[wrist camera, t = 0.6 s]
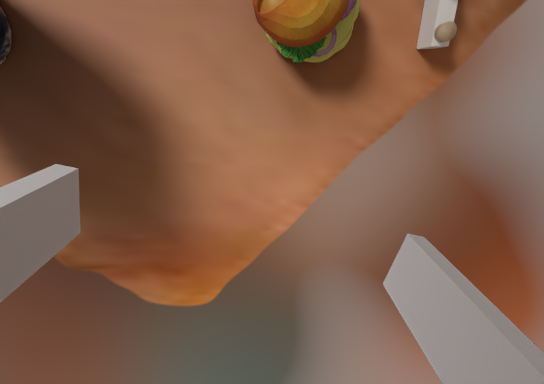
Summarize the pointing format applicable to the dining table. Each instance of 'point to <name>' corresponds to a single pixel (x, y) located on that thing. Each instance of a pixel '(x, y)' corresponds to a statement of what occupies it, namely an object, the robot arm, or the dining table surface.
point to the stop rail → (437, 24)
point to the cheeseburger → (307, 26)
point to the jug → (4, 36)
